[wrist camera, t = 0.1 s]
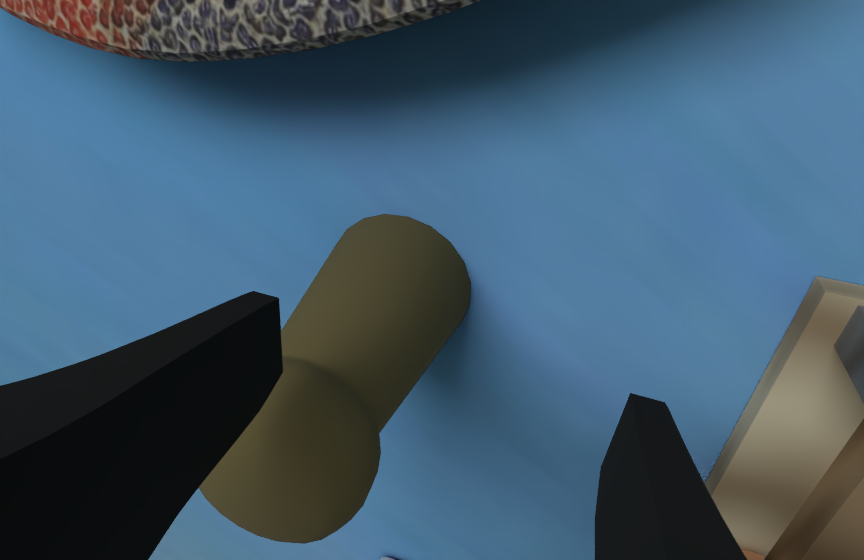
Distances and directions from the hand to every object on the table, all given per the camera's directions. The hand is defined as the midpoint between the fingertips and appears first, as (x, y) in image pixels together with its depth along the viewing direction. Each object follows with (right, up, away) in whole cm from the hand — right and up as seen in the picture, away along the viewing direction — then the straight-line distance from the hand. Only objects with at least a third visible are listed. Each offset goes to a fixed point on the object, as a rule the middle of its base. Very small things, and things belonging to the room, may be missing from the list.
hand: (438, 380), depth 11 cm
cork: (-1, +2, +12) cm, 12 cm away
